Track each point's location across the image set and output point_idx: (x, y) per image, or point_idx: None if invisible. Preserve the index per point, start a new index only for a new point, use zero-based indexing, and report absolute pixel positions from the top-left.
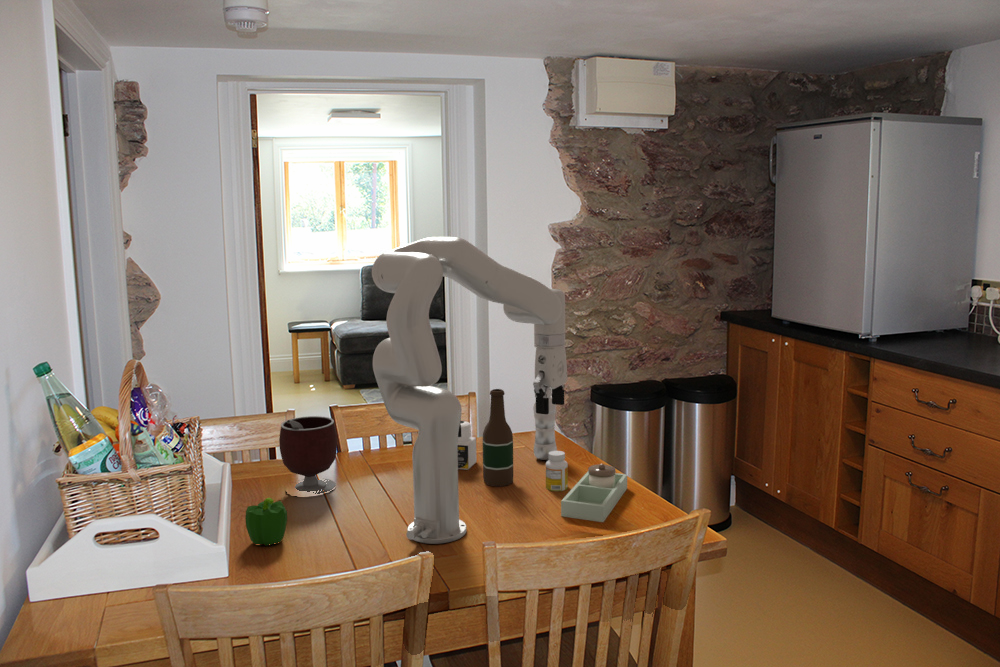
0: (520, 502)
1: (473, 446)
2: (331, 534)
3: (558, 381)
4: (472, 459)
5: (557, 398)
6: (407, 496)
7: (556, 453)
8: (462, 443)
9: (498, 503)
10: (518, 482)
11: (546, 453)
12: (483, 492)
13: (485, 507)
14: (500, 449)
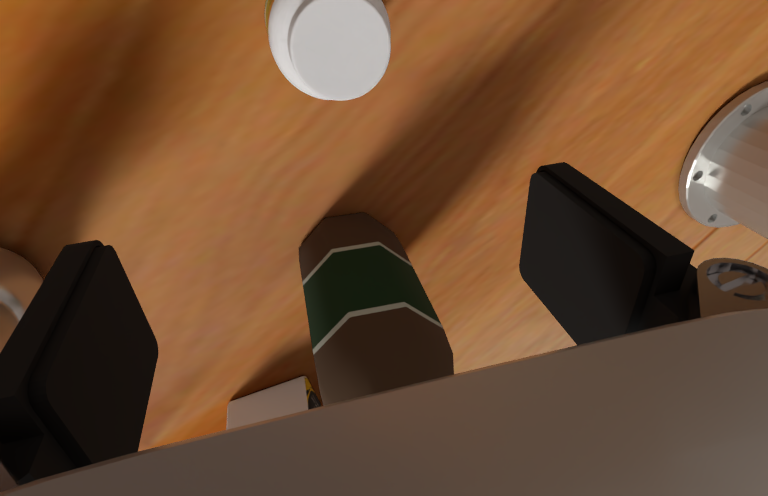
0: (487, 83)
1: None
2: None
3: (679, 464)
4: (268, 403)
5: (121, 347)
6: (546, 347)
7: (349, 46)
8: None
9: (519, 142)
10: (313, 201)
11: (14, 268)
12: (451, 233)
13: (561, 156)
14: (423, 305)
